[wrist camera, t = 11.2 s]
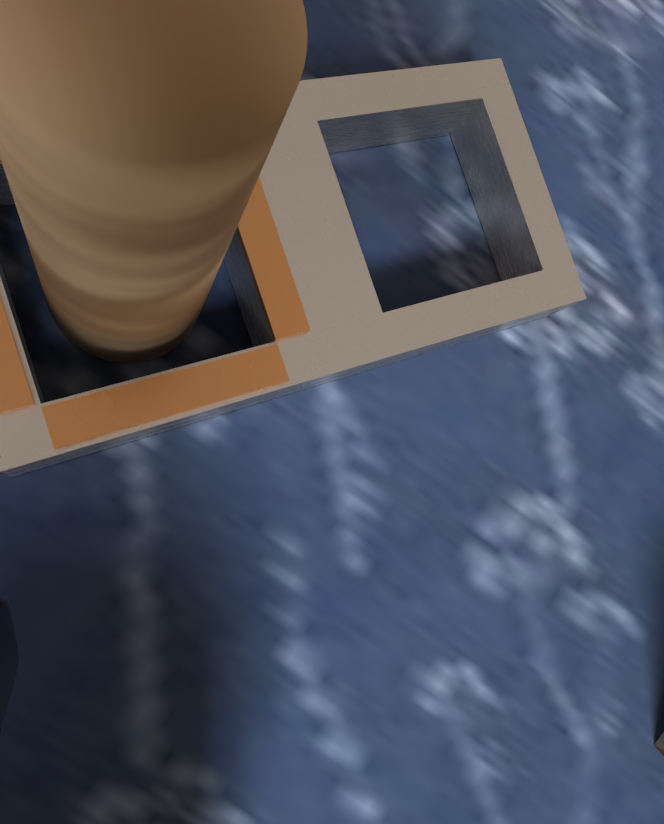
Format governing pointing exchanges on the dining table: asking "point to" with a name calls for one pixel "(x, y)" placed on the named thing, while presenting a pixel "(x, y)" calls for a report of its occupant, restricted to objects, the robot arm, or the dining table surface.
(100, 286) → the wooden peg
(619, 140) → the dining table surface
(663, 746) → the food container
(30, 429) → the compartment tray
